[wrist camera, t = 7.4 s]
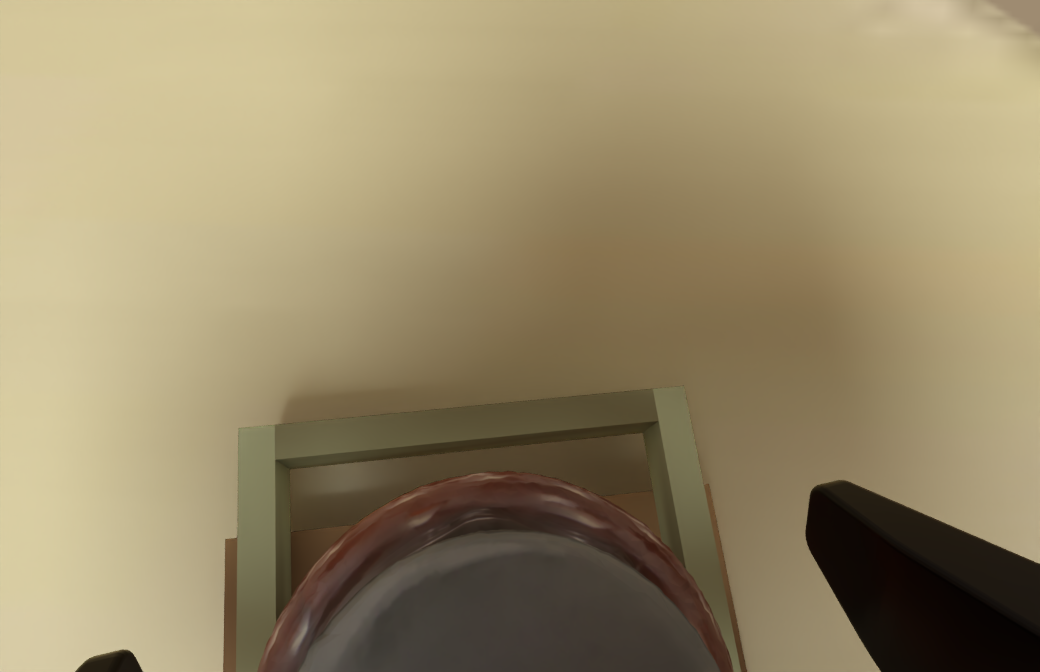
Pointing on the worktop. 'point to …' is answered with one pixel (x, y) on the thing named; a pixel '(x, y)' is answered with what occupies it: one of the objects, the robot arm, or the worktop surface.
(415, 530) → the supplement bottle
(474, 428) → the wooden tray
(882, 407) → the worktop surface
